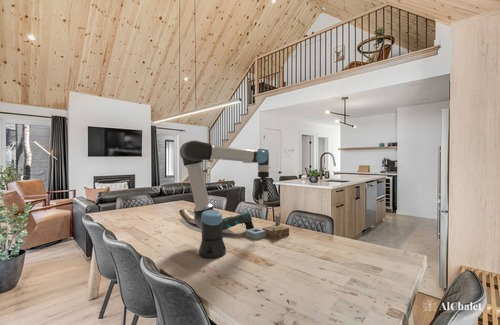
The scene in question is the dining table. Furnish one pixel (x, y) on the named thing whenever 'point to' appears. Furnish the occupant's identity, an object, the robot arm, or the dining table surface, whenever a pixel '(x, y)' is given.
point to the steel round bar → (277, 220)
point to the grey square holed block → (256, 233)
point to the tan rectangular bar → (277, 227)
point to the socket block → (276, 232)
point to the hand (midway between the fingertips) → (263, 202)
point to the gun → (238, 221)
